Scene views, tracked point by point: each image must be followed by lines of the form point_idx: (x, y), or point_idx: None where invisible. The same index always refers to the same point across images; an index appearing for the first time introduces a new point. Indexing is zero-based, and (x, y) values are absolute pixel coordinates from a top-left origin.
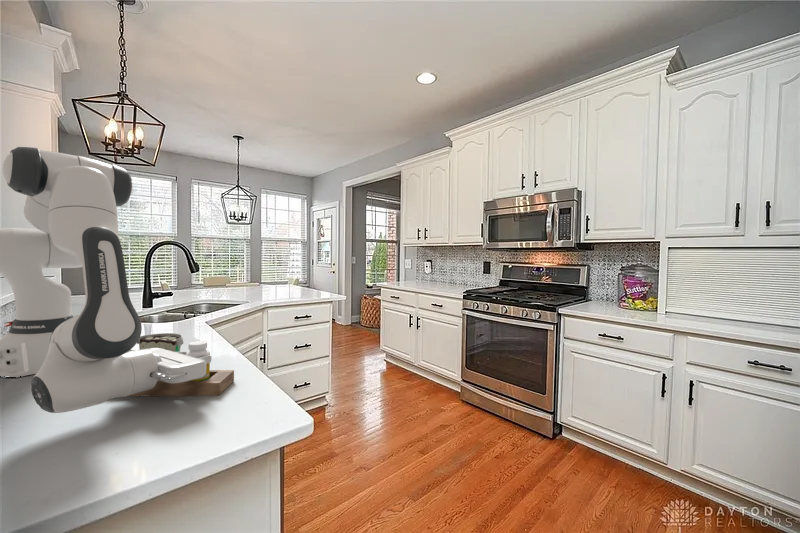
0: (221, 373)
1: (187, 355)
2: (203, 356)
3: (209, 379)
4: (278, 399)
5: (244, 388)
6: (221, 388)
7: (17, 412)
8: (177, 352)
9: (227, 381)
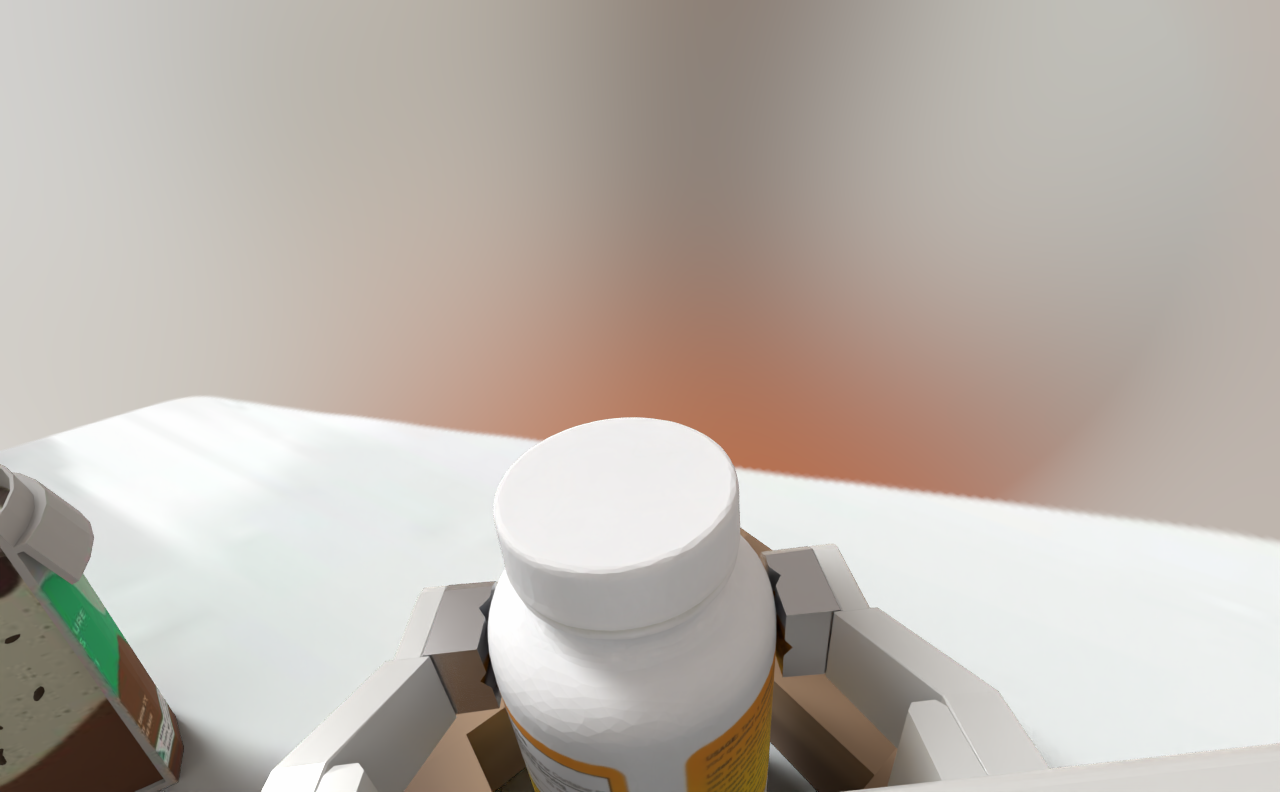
0: None
1: (639, 731)
2: (835, 605)
3: (832, 724)
4: (1239, 560)
5: (906, 591)
6: None
7: None
8: (337, 755)
9: None
